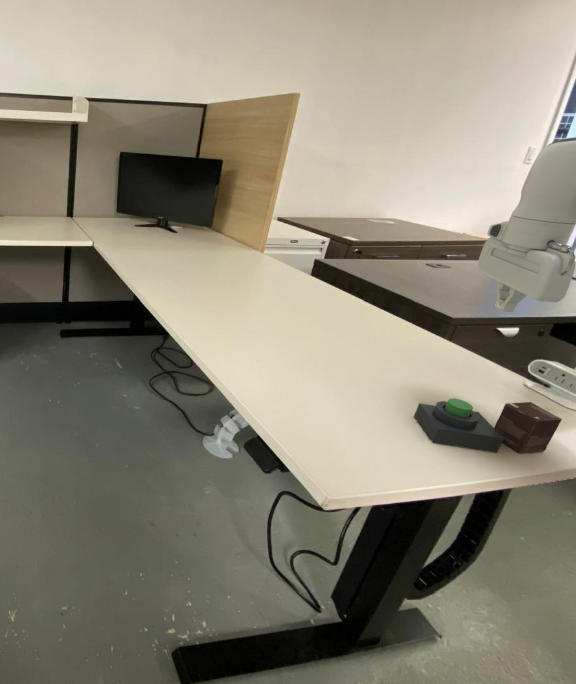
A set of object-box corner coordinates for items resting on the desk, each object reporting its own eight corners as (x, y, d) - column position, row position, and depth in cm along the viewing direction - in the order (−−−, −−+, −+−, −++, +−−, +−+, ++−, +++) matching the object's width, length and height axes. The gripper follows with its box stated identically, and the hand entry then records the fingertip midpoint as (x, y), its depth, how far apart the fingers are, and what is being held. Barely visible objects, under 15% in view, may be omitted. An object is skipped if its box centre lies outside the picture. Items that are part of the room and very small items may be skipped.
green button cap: (462, 409, 90) (466, 400, 89) (473, 420, 87) (477, 411, 86) (440, 405, 91) (444, 396, 90) (449, 416, 87) (454, 407, 86)
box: (545, 452, 87) (564, 419, 84) (519, 454, 86) (536, 420, 83) (514, 432, 92) (530, 401, 89) (489, 434, 91) (505, 402, 88)
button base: (472, 425, 94) (482, 404, 92) (497, 452, 86) (508, 430, 84) (413, 416, 95) (422, 395, 93) (432, 442, 87) (442, 420, 85)
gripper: (601, 250, 72) (560, 332, 78) (520, 227, 91) (491, 295, 96) (555, 246, 73) (518, 327, 79) (484, 224, 92) (458, 291, 97)
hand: (503, 309), depth 88 cm, fingers closed
